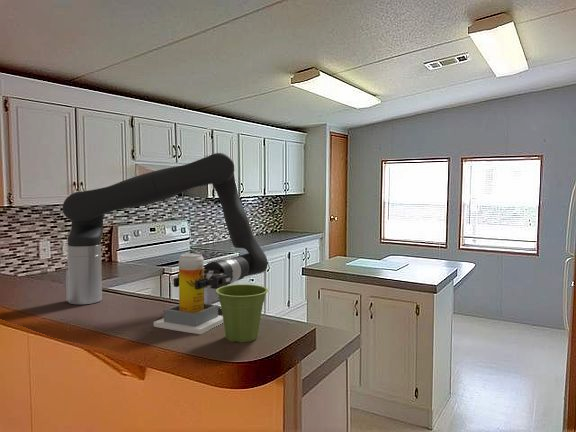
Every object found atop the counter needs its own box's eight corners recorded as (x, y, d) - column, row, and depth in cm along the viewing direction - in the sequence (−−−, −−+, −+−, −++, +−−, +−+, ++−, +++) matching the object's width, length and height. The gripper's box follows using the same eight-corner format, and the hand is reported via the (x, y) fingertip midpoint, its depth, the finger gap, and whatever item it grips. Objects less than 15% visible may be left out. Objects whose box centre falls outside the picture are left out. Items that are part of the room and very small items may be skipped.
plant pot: (204, 340, 99) (204, 290, 99) (239, 327, 109) (239, 282, 109) (244, 350, 93) (245, 298, 92) (277, 336, 102) (278, 288, 102)
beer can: (198, 317, 108) (197, 257, 107) (175, 316, 109) (174, 256, 108) (207, 311, 114) (207, 253, 113) (185, 309, 115) (185, 252, 114)
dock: (153, 326, 109) (153, 309, 109) (184, 314, 120) (183, 299, 120) (200, 334, 103) (200, 316, 103) (227, 321, 114) (227, 305, 114)
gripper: (201, 257, 127) (162, 266, 111) (244, 261, 121) (209, 271, 106) (201, 283, 127) (162, 296, 112) (244, 288, 121) (209, 302, 106)
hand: (185, 284), depth 109 cm, fingers closed on beer can, 6 cm apart
